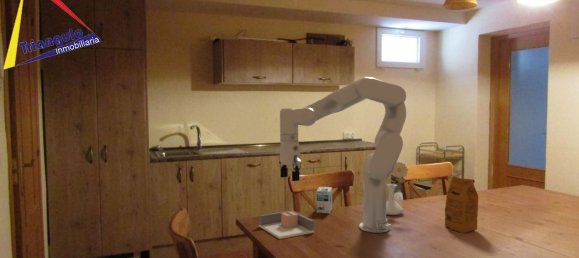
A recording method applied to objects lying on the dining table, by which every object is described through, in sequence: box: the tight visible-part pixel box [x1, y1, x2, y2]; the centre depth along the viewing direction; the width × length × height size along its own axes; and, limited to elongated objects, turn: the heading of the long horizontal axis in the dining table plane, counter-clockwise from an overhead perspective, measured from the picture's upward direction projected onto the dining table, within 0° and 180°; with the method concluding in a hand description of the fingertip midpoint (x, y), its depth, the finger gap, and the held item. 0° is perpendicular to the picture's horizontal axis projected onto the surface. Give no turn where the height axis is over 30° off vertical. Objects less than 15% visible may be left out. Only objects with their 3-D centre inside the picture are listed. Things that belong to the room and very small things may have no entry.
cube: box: [281, 212, 298, 228], centre depth 170 cm, size 5×5×5 cm
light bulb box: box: [316, 186, 333, 214], centre depth 198 cm, size 11×7×11 cm, turn 169°
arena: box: [258, 209, 315, 240], centre depth 168 cm, size 18×16×5 cm
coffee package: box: [444, 174, 479, 234], centre depth 168 cm, size 10×12×22 cm
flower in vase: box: [386, 161, 409, 216], centre depth 191 cm, size 13×11×25 cm
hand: (289, 178), depth 168 cm, fingers open, 9 cm apart
